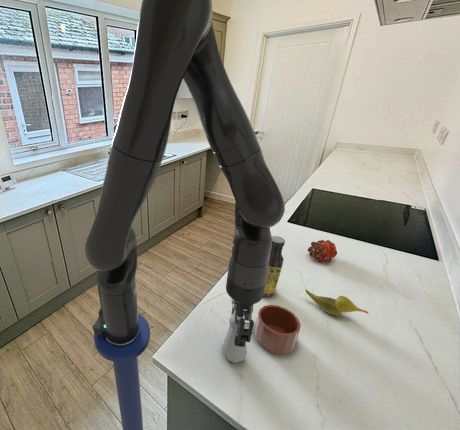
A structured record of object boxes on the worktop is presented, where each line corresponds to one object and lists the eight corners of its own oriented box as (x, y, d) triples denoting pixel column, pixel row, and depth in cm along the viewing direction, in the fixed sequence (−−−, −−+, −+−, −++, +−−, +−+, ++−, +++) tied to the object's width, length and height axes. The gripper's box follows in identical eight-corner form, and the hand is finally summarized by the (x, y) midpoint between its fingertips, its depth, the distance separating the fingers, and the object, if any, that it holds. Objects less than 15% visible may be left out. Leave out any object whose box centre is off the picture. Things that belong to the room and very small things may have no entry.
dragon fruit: (308, 267, 97) (321, 259, 104) (334, 264, 90) (346, 256, 97) (300, 245, 98) (313, 238, 105) (324, 241, 91) (337, 234, 98)
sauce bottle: (254, 295, 83) (264, 242, 74) (253, 283, 88) (262, 232, 79) (276, 300, 81) (289, 246, 72) (274, 286, 86) (286, 235, 78)
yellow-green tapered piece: (361, 331, 70) (369, 313, 67) (300, 303, 79) (305, 287, 76) (363, 321, 73) (371, 303, 70) (304, 295, 82) (309, 279, 79)
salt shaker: (240, 371, 61) (247, 333, 56) (217, 358, 65) (222, 320, 59) (248, 353, 66) (256, 315, 60) (226, 341, 69) (231, 304, 63)
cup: (257, 351, 66) (262, 332, 63) (251, 321, 74) (255, 302, 71) (299, 357, 64) (306, 338, 61) (288, 325, 72) (293, 307, 69)
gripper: (225, 253, 61) (219, 306, 68) (230, 297, 48) (222, 356, 56) (259, 256, 59) (249, 309, 67) (274, 302, 47) (260, 362, 54)
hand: (237, 330), depth 61 cm, fingers open, 7 cm apart
